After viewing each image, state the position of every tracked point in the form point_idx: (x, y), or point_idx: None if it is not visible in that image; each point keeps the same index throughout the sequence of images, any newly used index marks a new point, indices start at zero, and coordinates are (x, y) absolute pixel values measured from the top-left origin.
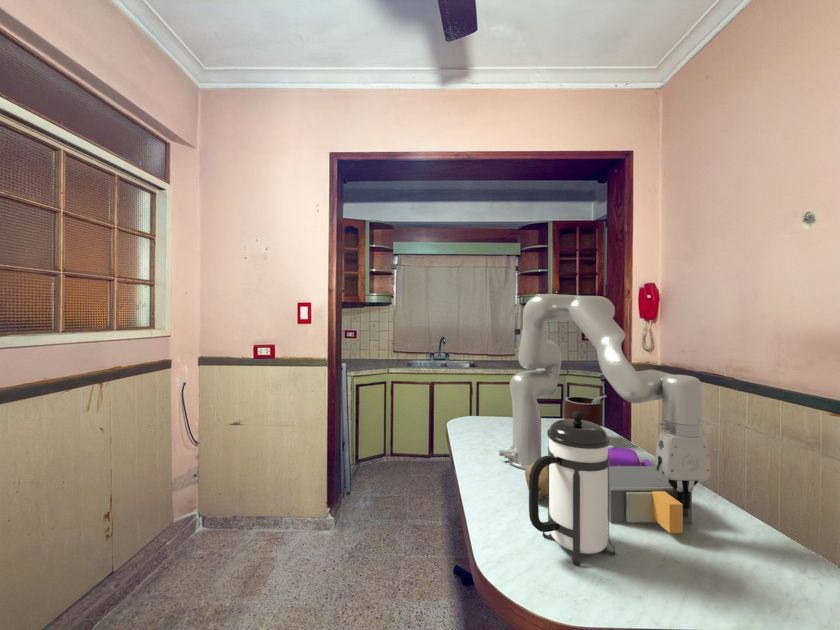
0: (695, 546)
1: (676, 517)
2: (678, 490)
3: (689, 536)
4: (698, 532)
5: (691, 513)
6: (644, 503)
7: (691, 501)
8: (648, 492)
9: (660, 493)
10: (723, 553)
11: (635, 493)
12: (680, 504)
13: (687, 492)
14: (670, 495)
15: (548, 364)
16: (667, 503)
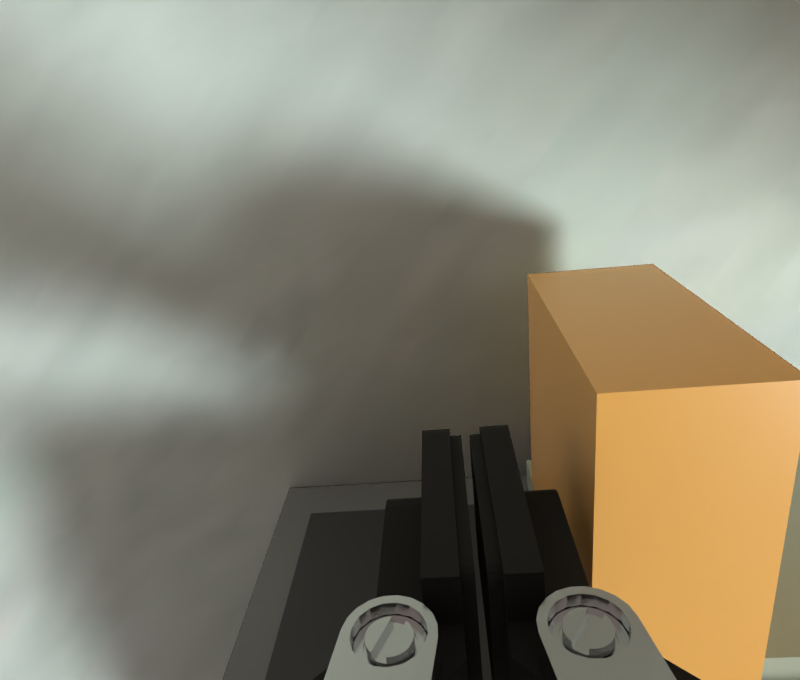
0: (452, 200)
1: (633, 316)
2: (622, 606)
3: (413, 328)
4: (311, 382)
5: (275, 536)
6: (782, 559)
7: (247, 618)
8: (783, 673)
9: (694, 639)
10: (282, 124)
11: None
12: (633, 389)
13: (459, 578)
14: None
15: None
16: (797, 416)
